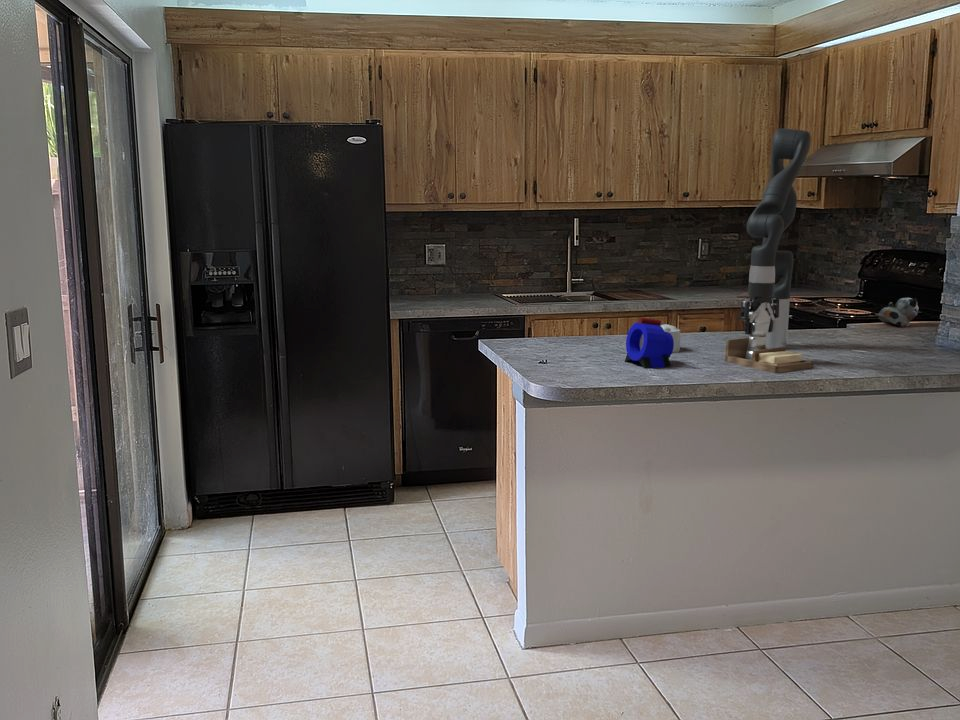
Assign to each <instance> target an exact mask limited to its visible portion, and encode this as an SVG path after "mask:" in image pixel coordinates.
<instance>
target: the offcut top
mask: <svg viewBox="0 0 960 720" xmlns="http://www.w3.org/2000/svg"><path fill="white" fill-rule="evenodd" d="M758 360H761V361H765V362H769V363H774V364H775V363H785V362H795V361H802V360H803V353H799V352H794V351H788V350H785V351H780V352H769V353H759V359H758Z"/></svg>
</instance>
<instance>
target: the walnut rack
mask: <svg viewBox="0 0 960 720" xmlns="http://www.w3.org/2000/svg"><path fill="white" fill-rule="evenodd" d="M748 343H749V336H747V337H742V338H741V337H739V338H731V339H726V340H725V354H724V355H725V357H724V362H726V363H730V364H733V365H739V366H742V367H743V366H744V367H747V368H751V369H756V370H760V371H763V372H768V373H773V374H779V373H786V372H793V371H799V370H807V369H813V368H814V361H810V360H806V359H802V361H800V363H795V364H788V365H780V366H774V365H770V364H765V363H761V362H759V360H758V359H759V353H769V352H780V351H787V350H786V349H787V346H786V347H779V348H771V349H762V350H754V351H753V352H752V360H748V359H746V352H747V350H748Z"/></svg>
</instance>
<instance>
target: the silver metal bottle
mask: <svg viewBox="0 0 960 720" xmlns="http://www.w3.org/2000/svg"><path fill="white" fill-rule="evenodd" d="M760 303H763V304H764V306H763V308H762V309H761V310H760V312H759V313H758V315H757V316H756V317H755V318H754V319H753V321H752V322H751V323H753V326H752V334H751V335H748V337H749V343H748V350H747V352H746V359H748V360H752V352H753V351H754V350H762V349H767V336H768V329H769V325H770V316H769V314H768V312H767V311H766V308H767V307H766V303H767V302H760ZM750 317H751V316H750ZM750 317H749V318H750Z"/></svg>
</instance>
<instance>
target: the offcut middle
mask: <svg viewBox="0 0 960 720" xmlns="http://www.w3.org/2000/svg"><path fill="white" fill-rule="evenodd" d="M759 362H761V363H765V364H770V365H774V366H780V365H788V364H795V363H800V361H795V362H785V363H775V364H774V363H769V362H765V361H761V360H759Z"/></svg>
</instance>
